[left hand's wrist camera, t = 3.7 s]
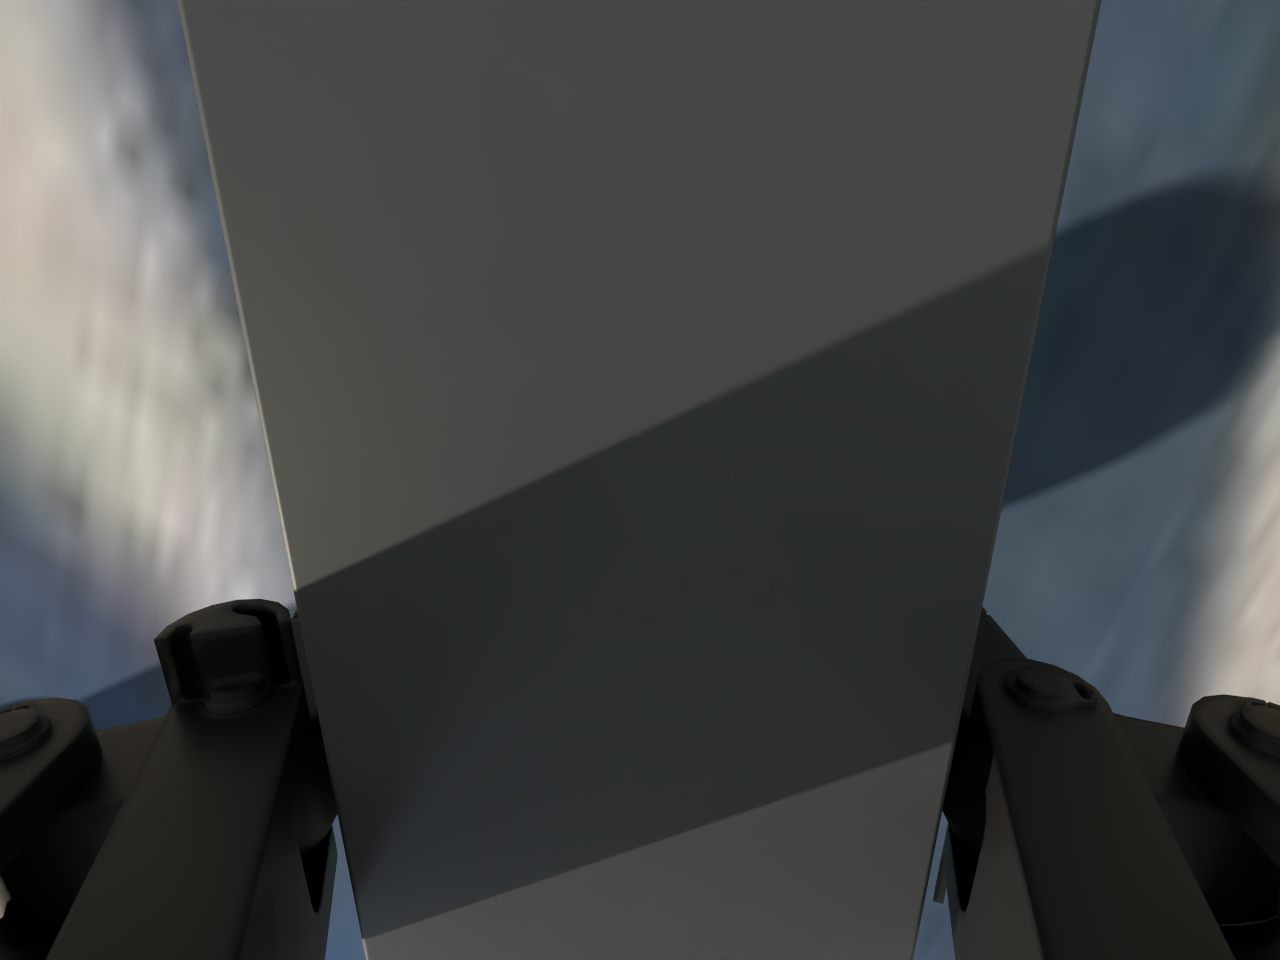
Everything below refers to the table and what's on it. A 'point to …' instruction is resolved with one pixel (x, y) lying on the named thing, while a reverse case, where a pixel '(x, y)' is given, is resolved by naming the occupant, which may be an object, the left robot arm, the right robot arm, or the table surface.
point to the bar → (639, 438)
